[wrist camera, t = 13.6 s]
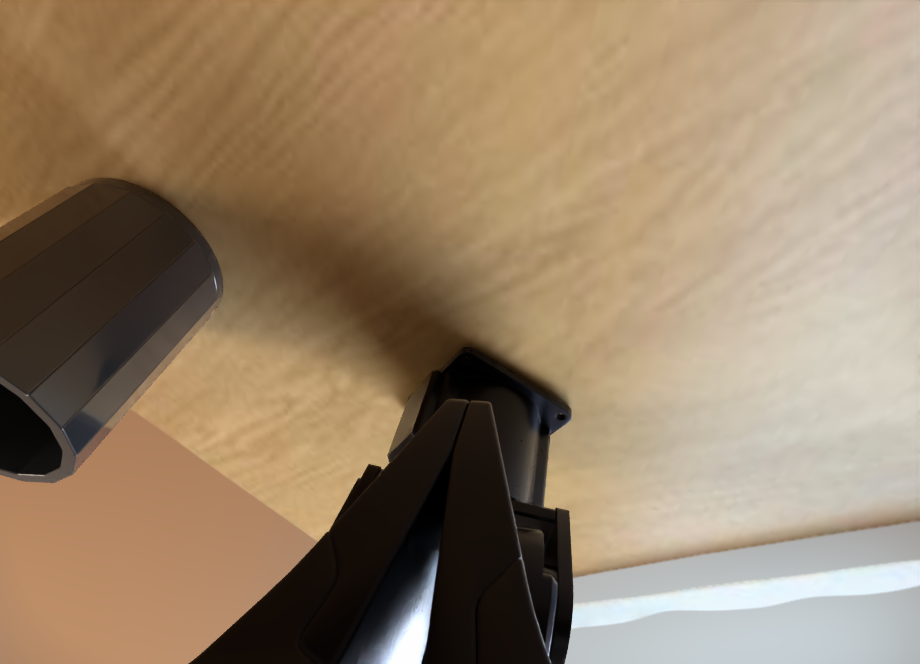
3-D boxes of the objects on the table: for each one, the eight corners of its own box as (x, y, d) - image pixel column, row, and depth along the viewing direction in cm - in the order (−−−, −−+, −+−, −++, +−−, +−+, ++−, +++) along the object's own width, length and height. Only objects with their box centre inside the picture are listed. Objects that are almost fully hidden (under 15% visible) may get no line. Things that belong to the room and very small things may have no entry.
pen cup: (242, 246, 24) (84, 412, 17) (202, 345, 30) (66, 507, 22) (66, 141, 23) (-196, 274, 15) (55, 265, 28) (-146, 412, 20)
